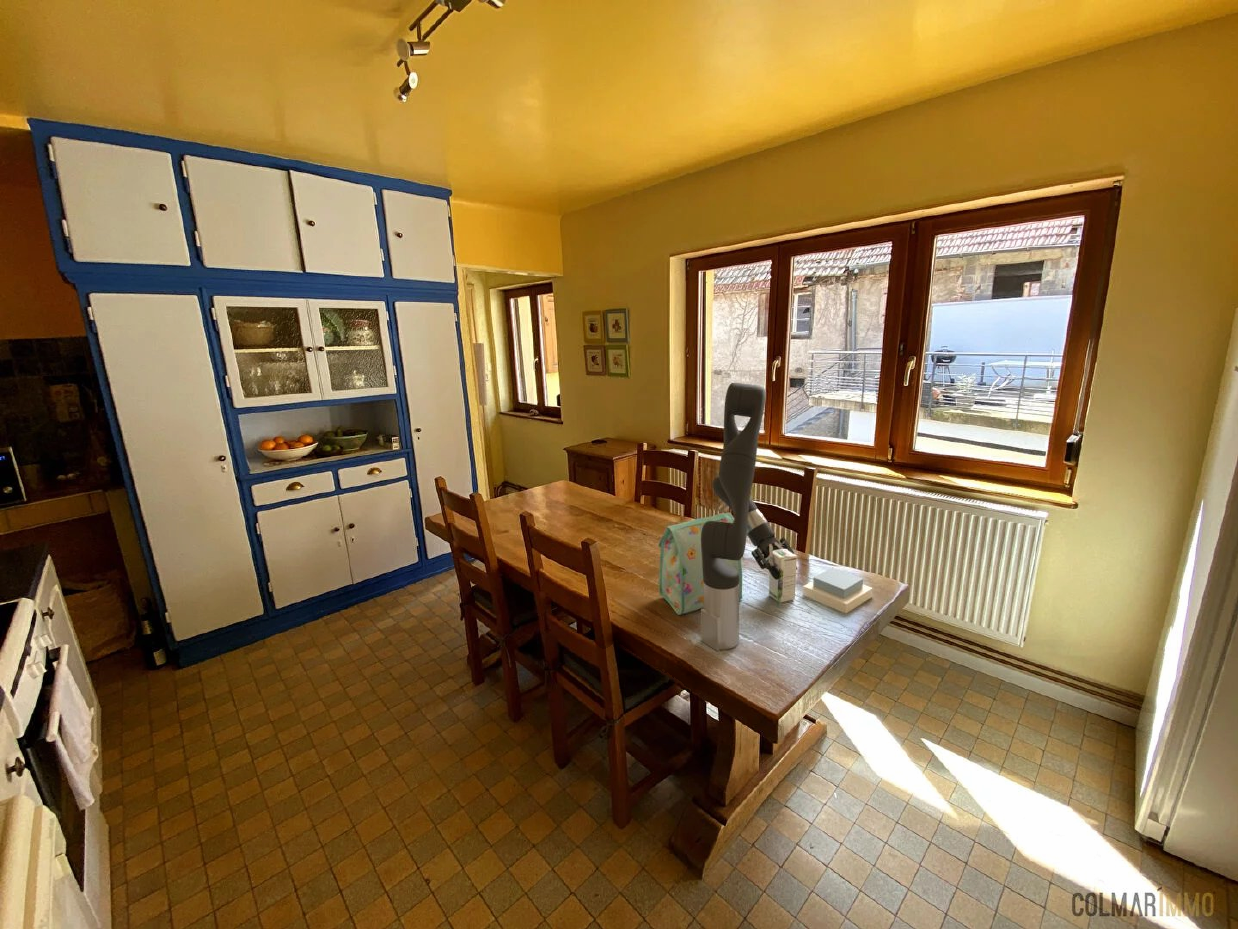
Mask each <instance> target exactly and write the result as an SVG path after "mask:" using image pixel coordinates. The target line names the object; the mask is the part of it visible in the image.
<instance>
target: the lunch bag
mask: <svg viewBox="0 0 1238 929" xmlns="http://www.w3.org/2000/svg"><path fill="white" fill-rule="evenodd" d="M707 521H717V522H727V523H733V522H734V515H732V514H731V513H730V512H726V513H722V512H719V513H717V514H715V515H711V516H707V517H700V518H695V519H692V520H689V521H684V522H679V523H676V524H673V525H668V526H667V527H666V528H665V530H664V533H663V534H662V536H661V538H660V540H659V542H658V544H657V546H658V547H659V548H660V553H659V572H658V593H659V596H660V597H662V598H663V599H664V600H666V602H667V603H668V604H669V605H670V606H671V608H672V609H673V611H674V612H675V614H677V615H678V616H680V615H683V614H688V613H691V612H694V611H697V610H701V609H702V608H704V607H703V570H702V552H701V531H702V528H703V525H704V524H705V523H706V522H707ZM722 560H723V561H724V562H726V563H727V564H729V565H731V566H733V567H735V568H736V569H737V570H738V572H739V601H742V599H743V568H742V566H743V565H742V558H741V559H740V560H727V559H722Z"/></svg>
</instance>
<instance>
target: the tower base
mask: <svg viewBox="0 0 1238 929" xmlns="http://www.w3.org/2000/svg"><path fill="white" fill-rule="evenodd" d="M802 589H803V590H802V596H805V597H807V598H808V599H811V600H814V601H816V602H818V603H820V604H823V605H825V606H828V607H830V608H832V609H834V610H837V611H839V612H841V613H843V614H848V613H849V612H851V611H852V610H854V609H855V608H857V607H859V606H860V605H862V604H863V603H865V602H866V601H868V600H870V599H871V598H873V587H871V586H868V585H865V584H864V578H862V577H859V576H857V575H854V574H852V573H849V572H846V571H842V570H841V569H838V568H834V567H830V568H829V569H827V570H825V571H823V572H821V573H819V574H817V575H816V576H814V577H813V580H812V581H810V582H809V583H808V582H807V583H806V584H805V585H803V588H802Z"/></svg>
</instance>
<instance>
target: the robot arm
mask: <svg viewBox="0 0 1238 929" xmlns="http://www.w3.org/2000/svg"><path fill="white" fill-rule="evenodd" d="M766 400H767V392H766V389H765V387H764V386H761V385H760V384H759V385H757V384H749V383H741V382H731V383H730V384H729V385H728V387H727V390H726V392H725V399H724V408H723V409H724V411H723V447H722V453H721V457H720V462H719V468H718V476H716V477H715V478H714V479H713V480H712V484H711V485H712V489H713V492H714V494H715V495H716V496H717V498H719V499H720V500H721V501H722V502H723V503H724V504H725V505H726V506H727V507H728V508H729V509H730V510H732V512H733V518H734V522H733V523H727V522H717V521H707V522H706V523H705V524H704V525H703V528H702V531H701V552H702V570H703V607H704V608H700V631H701V632H700V638H701V639H700V641H701V642H703V643H704V644H706V645H707V646H709V647H711V648H712V649H713V650H715V651H721V650H722V651H723V650H730V649H733V648H736V647H737V645H738V644H739V643H740V600H739V572H738V570H737V569H736V568H735V567H733V566H731V565H729V564H727V563H726V562H724V561H723V560H722V559H727V560H740V559H741V560H742V559H743V557H744V554H745V551H746V543H747V537H748V539H749V541H750V543H752V545H753V546H754V547H756V548H755V549H753V551H750V552H751V553H750V554H751V556H752V557H753V559H754V560H755V561H756V563H757V564H758V566H759V567H760V569H761V570H764V569H766V570H767V571H769V574H770V573H771V575H772V576H773V578H774V579H775V580H777V579H779V578H781V575H780V573H779V571H778V570H777V568H776V567H775V566H774V564H773V558H774V556H773V551H775V550H780V549H787V550H788V551H790V552H791V553H793V554H794V555H795V551H794V550H793V549H792V547H791V546H790V543H789V542H788V541H787V539H786V538H785V537H783V536H782V537H780V539H777V537H776V536H775V535H776V532H775V530H774V529H773V528H772V527H771V525H770V523H769V522H768V520H767V518H766V517H765V516H764V514H763V513H762V511H760V510H759V508H758V506H757V505H756V503H755V502H754V500H753V499H752V498H751V494H752V488H753V482H754V477H755V470H756V463H757V453H758V452H757V451H758V442H759V436H760V432H761V426H762V420H763V416H764V415H763V414H764V411H765V405H766ZM735 416H738V417H746V418H749V420H748V422H746V423H747V424H746V425H745V426H744V428H743V429H742V430H741V432H740V430H739V429H738V427H737V423H736V417H735ZM797 570H798V567H797V566H796V571H797Z"/></svg>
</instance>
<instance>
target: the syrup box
mask: <svg viewBox="0 0 1238 929" xmlns="http://www.w3.org/2000/svg"><path fill="white" fill-rule="evenodd" d="M773 556H774V558H773V564H774V566H775V567H776V568H777V570H778V571H779V573H780V575H781V578H779V579H777V580H775V579H774V578H773V576H772V575H771V573H770V572H769V580H768V581H769V583H768V595H769V596H770V597H771V598H773V599H774V600H775V601H777V602H778V603H779V604H780V603H783V602H784V603H785V602H788V601H792V600H795V598H796V584H797V583H796V580H797V570H796V566H797V562H798V556H797V554H795V553H794V554H793V553H791V552H790V551H788V549H780V550H775V551H773Z"/></svg>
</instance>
